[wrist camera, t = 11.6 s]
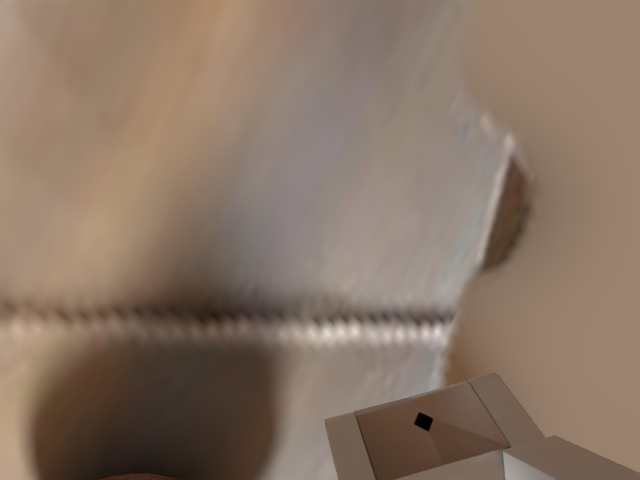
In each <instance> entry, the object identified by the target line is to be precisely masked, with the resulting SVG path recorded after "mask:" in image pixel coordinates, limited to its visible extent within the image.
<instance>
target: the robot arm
mask: <svg viewBox="0 0 640 480" xmlns="http://www.w3.org/2000/svg"><path fill="white" fill-rule="evenodd" d="M325 427H326V431H327V436H328V440H329V444H330V448H331V452H332V456H333V460H334V464H335V468H336V472H337V476H338V480H640V473H639V472H636V471H634V470H632V469H630V468H627V467H625V466H623V465H620V464H618V463H615V462H613V461H611V460H609V459H607V458H604V457H602V456H600V455H598V454H596V453H593V452H591V451H589V450H587V449H584V448H582V447H580V446H578V445H575V444H573V443H571V442H569V441H566V440H564V439H562V438H560V437H557V436H555V435H554V436H550V437H547V438H546V437H545V436H544V435H543V433H542V432H541V431H540V429H539V428H538V427H537V425H536V424H535V423H534V422H533V420H532V419H531V417H530V416H529V415H528V413H527V412H526V411H525V409H524V408H523V407H522V405H521V404H520V403H519V402H518V400H517V399H516V397H515V396H514V395H513V393H512V392H511V391H510V389H509V388H508V387H507V385H506V384H505V383H504V381H503V380H502V379H501V377H500V376H499V375H498V374H496V373H490V374H487V375H483V376H480V377H476V378H473V379H470V380H467V381H466V382H461V383H458V384H454V385H451V386H447V387H444V388H440V389H437V390H433V391H430V392H426V393H423V394H419V395H416V396H412V397H409V398H405V399H401V400H397V401H393V402H389V403H385V404H381V405H377V406H373V407H369V408H365V409H361V410H357V411H354V413H353V412H352V413H348V414H344V415H340V416H336V417H332V418H328V419H325Z"/></svg>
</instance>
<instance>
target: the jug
mask: <svg viewBox="0 0 640 480" xmlns="http://www.w3.org/2000/svg"><path fill="white" fill-rule="evenodd" d="M99 480H178V479H175V478H171V477H166V476H162V475H157V474H149V473H147V472H146V473H131V474H121V475H115V476H110V477H106V478H103V479H99Z"/></svg>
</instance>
